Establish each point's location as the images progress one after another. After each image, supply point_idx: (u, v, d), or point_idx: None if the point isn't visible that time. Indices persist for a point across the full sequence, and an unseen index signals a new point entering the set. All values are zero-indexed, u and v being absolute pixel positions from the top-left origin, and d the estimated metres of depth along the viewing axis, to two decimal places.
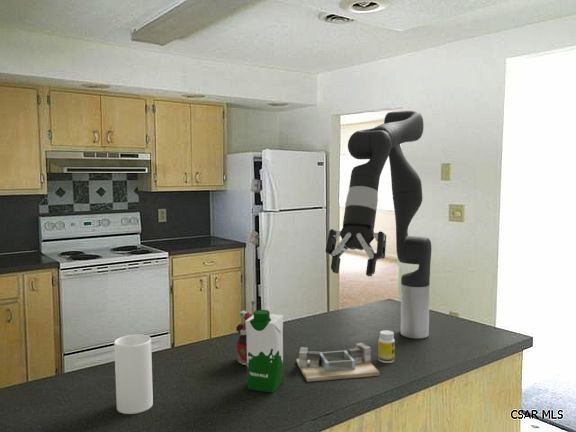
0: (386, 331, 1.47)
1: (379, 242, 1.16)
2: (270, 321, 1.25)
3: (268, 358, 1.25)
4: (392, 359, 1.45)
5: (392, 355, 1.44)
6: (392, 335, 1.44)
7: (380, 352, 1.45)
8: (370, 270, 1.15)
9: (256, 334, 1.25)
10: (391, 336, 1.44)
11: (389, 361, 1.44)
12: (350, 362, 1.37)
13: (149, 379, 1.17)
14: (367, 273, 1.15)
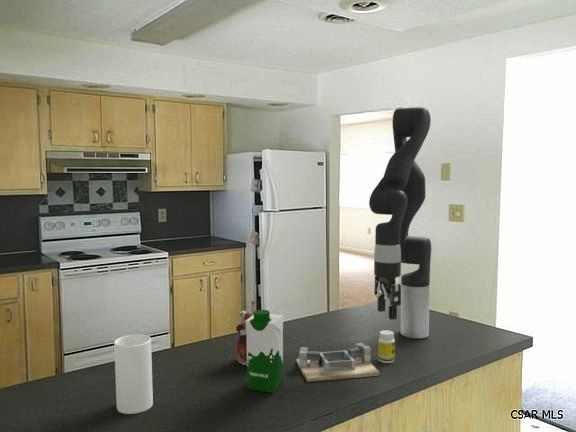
0: (386, 331, 1.47)
1: (391, 293, 1.38)
2: (270, 321, 1.25)
3: (268, 358, 1.25)
4: (392, 359, 1.45)
5: (392, 355, 1.44)
6: (392, 335, 1.44)
7: (380, 352, 1.45)
8: (390, 315, 1.40)
9: (256, 334, 1.25)
10: (391, 336, 1.44)
11: (389, 361, 1.44)
12: (350, 362, 1.37)
13: (149, 379, 1.17)
14: (389, 317, 1.41)
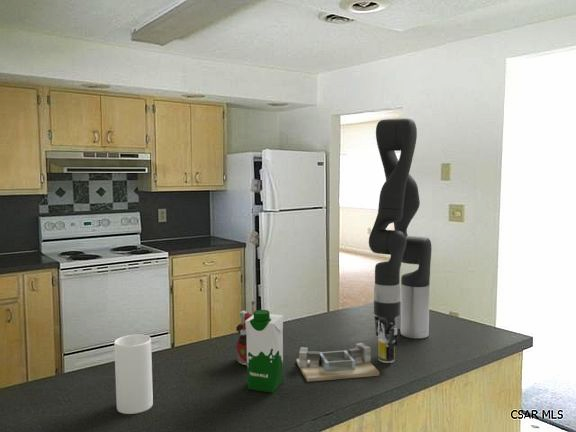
0: None
1: (390, 336, 1.40)
2: (270, 321, 1.25)
3: (268, 358, 1.25)
4: None
5: None
6: None
7: (380, 352, 1.45)
8: (388, 356, 1.43)
9: (256, 334, 1.25)
10: None
11: (389, 361, 1.44)
12: (350, 362, 1.37)
13: (149, 379, 1.17)
14: (386, 358, 1.44)
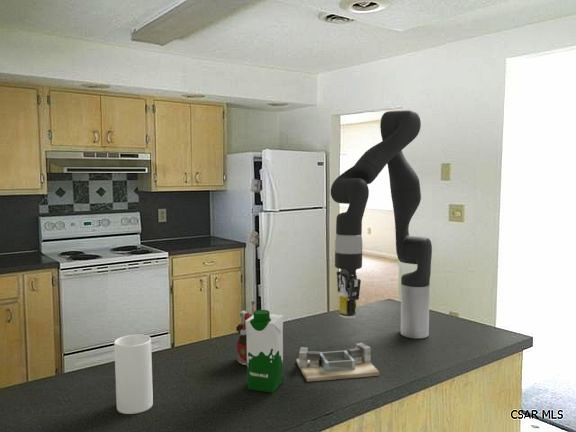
0: None
1: (350, 288, 1.33)
2: (270, 321, 1.25)
3: (268, 358, 1.25)
4: (353, 314, 1.38)
5: None
6: None
7: (341, 307, 1.38)
8: (348, 310, 1.36)
9: (256, 334, 1.25)
10: None
11: (350, 316, 1.37)
12: (350, 362, 1.37)
13: (149, 379, 1.17)
14: (347, 312, 1.37)
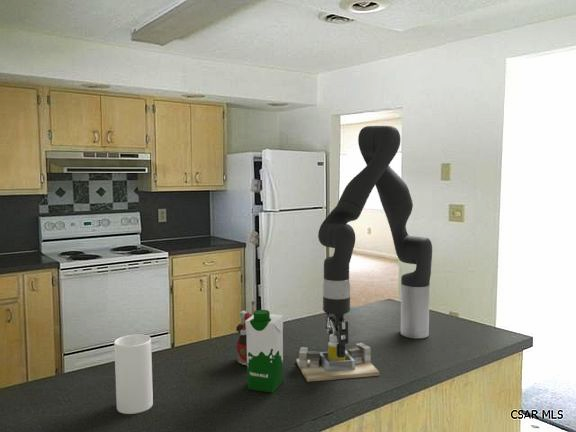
0: None
1: (338, 331, 1.33)
2: (270, 321, 1.25)
3: (268, 358, 1.25)
4: None
5: (342, 359, 1.39)
6: (342, 338, 1.39)
7: (329, 356, 1.39)
8: (338, 353, 1.35)
9: (256, 334, 1.25)
10: None
11: None
12: (350, 362, 1.37)
13: (149, 379, 1.17)
14: (337, 355, 1.36)
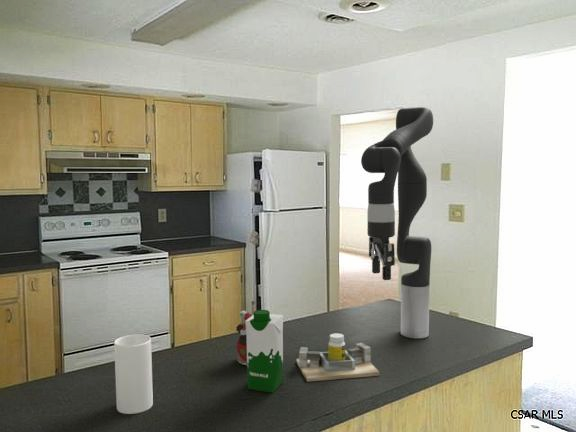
0: (336, 334, 1.41)
1: (385, 253, 1.35)
2: (270, 321, 1.25)
3: (268, 358, 1.25)
4: None
5: (342, 359, 1.39)
6: (342, 338, 1.39)
7: (330, 356, 1.39)
8: (384, 276, 1.37)
9: (256, 334, 1.25)
10: (341, 339, 1.38)
11: None
12: (350, 362, 1.37)
13: (149, 379, 1.17)
14: (383, 278, 1.37)
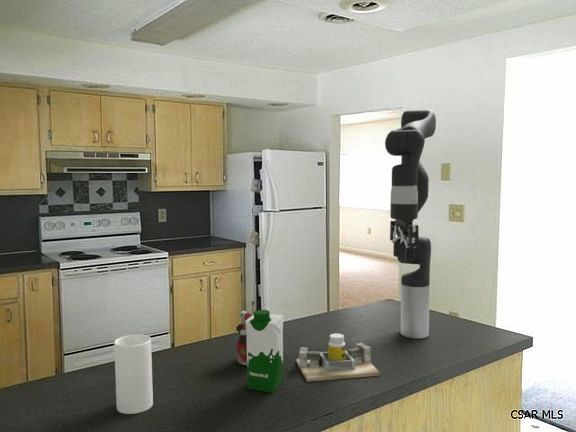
0: (336, 334, 1.41)
1: (409, 234, 1.36)
2: (270, 321, 1.25)
3: (268, 358, 1.25)
4: None
5: (342, 359, 1.39)
6: (342, 338, 1.39)
7: (330, 356, 1.39)
8: (407, 257, 1.38)
9: (256, 334, 1.25)
10: (341, 339, 1.38)
11: None
12: (350, 362, 1.37)
13: (149, 379, 1.17)
14: (406, 260, 1.38)
